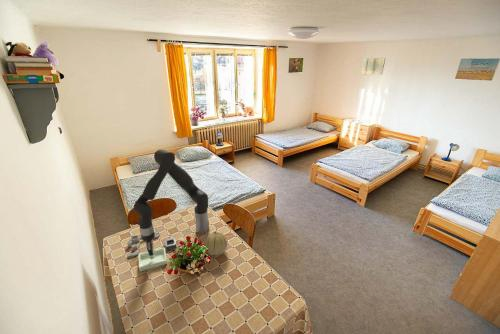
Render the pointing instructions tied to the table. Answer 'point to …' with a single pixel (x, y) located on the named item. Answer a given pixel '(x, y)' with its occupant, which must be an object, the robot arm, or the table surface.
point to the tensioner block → (170, 244)
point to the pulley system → (135, 240)
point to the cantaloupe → (216, 243)
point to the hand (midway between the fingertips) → (151, 252)
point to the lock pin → (152, 255)
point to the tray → (151, 263)
